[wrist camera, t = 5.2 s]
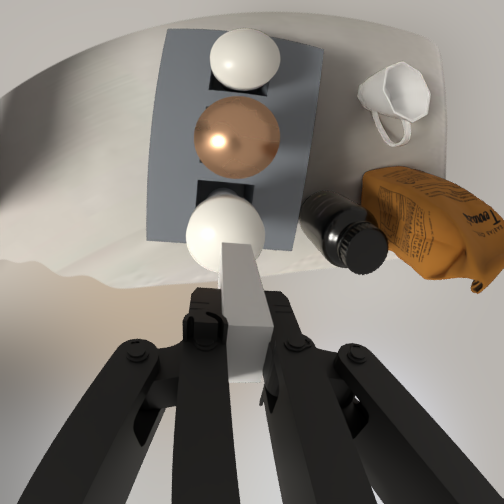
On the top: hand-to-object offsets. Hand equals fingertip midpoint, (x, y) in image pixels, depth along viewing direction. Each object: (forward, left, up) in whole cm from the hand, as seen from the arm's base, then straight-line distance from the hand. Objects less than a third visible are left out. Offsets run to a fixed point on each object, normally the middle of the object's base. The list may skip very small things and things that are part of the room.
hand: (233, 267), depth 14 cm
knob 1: (0, +13, -16) cm, 21 cm away
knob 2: (0, 0, -13) cm, 13 cm away
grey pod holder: (0, +7, -19) cm, 20 cm away
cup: (+17, +14, -19) cm, 29 cm away
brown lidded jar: (0, +7, -13) cm, 14 cm away
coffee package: (+23, +2, -19) cm, 30 cm away
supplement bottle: (+13, -1, -19) cm, 23 cm away
